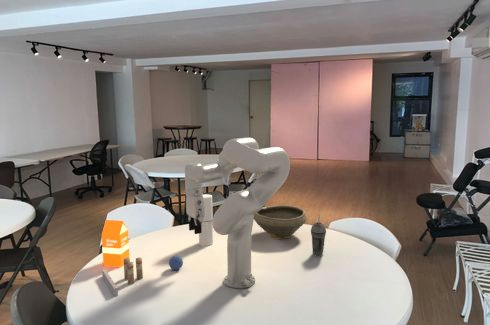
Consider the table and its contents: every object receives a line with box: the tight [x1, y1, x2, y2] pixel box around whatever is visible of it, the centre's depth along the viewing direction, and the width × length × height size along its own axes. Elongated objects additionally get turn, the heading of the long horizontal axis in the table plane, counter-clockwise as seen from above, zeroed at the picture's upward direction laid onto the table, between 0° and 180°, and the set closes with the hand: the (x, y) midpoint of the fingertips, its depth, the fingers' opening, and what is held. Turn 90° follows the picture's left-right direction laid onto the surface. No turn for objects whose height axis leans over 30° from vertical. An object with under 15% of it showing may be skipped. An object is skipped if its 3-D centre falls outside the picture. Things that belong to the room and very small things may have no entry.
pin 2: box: [127, 261, 135, 285], centre depth 156 cm, size 2×2×8 cm
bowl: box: [253, 204, 307, 240], centre depth 210 cm, size 28×28×14 cm
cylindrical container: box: [198, 193, 214, 247], centre depth 198 cm, size 7×7×25 cm
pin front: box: [135, 257, 144, 280], centre depth 160 cm, size 2×2×8 cm
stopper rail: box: [101, 268, 119, 297], centre depth 154 cm, size 20×1×3 cm, turn 32°
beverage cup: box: [310, 213, 327, 257], centre depth 183 cm, size 7×7×20 cm
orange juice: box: [101, 219, 130, 268], centre depth 175 cm, size 8×9×20 cm
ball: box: [168, 255, 184, 271], centre depth 169 cm, size 6×6×6 cm
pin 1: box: [123, 258, 131, 281], centre depth 160 cm, size 2×2×8 cm
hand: (195, 231), depth 172 cm, fingers open, 4 cm apart
